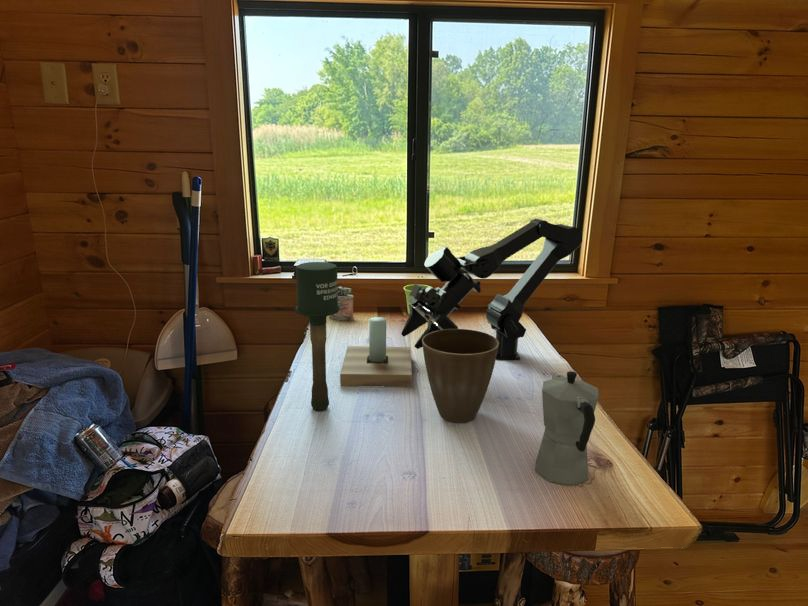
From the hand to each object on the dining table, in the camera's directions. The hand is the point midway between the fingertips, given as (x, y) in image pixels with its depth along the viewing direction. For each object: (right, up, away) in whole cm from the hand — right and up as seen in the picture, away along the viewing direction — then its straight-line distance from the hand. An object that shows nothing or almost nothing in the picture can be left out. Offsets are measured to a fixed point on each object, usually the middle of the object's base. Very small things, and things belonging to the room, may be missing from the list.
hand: (408, 341), depth 137 cm
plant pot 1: (+3, +6, +45) cm, 46 cm away
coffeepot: (+26, -20, -42) cm, 53 cm away
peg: (-8, -7, -1) cm, 10 cm away
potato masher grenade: (-18, -13, -20) cm, 30 cm away
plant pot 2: (+10, -14, -22) cm, 27 cm away
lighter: (-21, +4, +39) cm, 45 cm away
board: (-8, -7, -1) cm, 10 cm away
